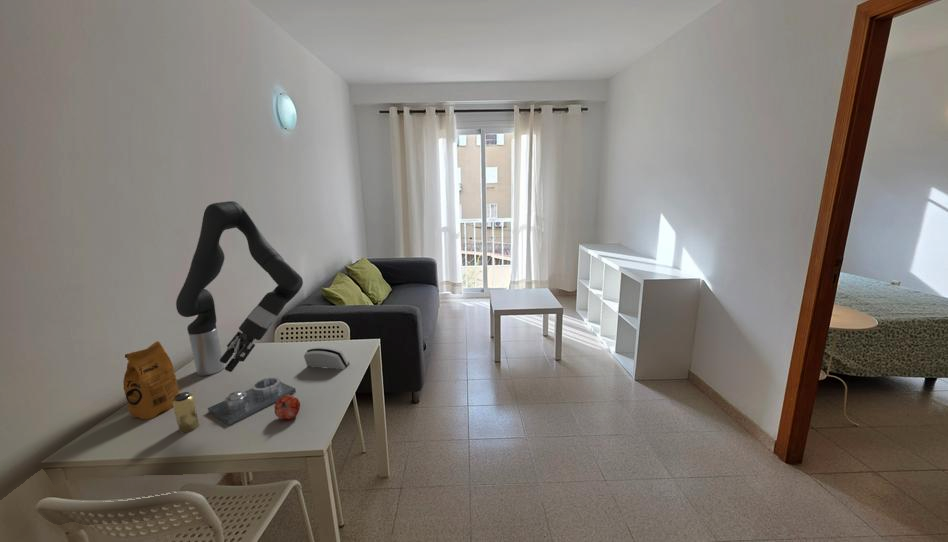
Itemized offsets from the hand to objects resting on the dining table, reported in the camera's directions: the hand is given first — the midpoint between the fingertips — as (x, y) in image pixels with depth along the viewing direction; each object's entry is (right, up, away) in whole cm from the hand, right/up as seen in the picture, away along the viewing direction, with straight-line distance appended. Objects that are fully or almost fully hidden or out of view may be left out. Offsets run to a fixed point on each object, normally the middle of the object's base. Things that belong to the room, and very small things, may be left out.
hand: (224, 366), depth 123 cm
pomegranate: (+21, -16, 0) cm, 26 cm away
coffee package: (-27, -16, +7) cm, 33 cm away
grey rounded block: (+20, -9, +33) cm, 39 cm away
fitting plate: (+4, -14, +9) cm, 17 cm away
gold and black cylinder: (-8, -18, -4) cm, 20 cm away
